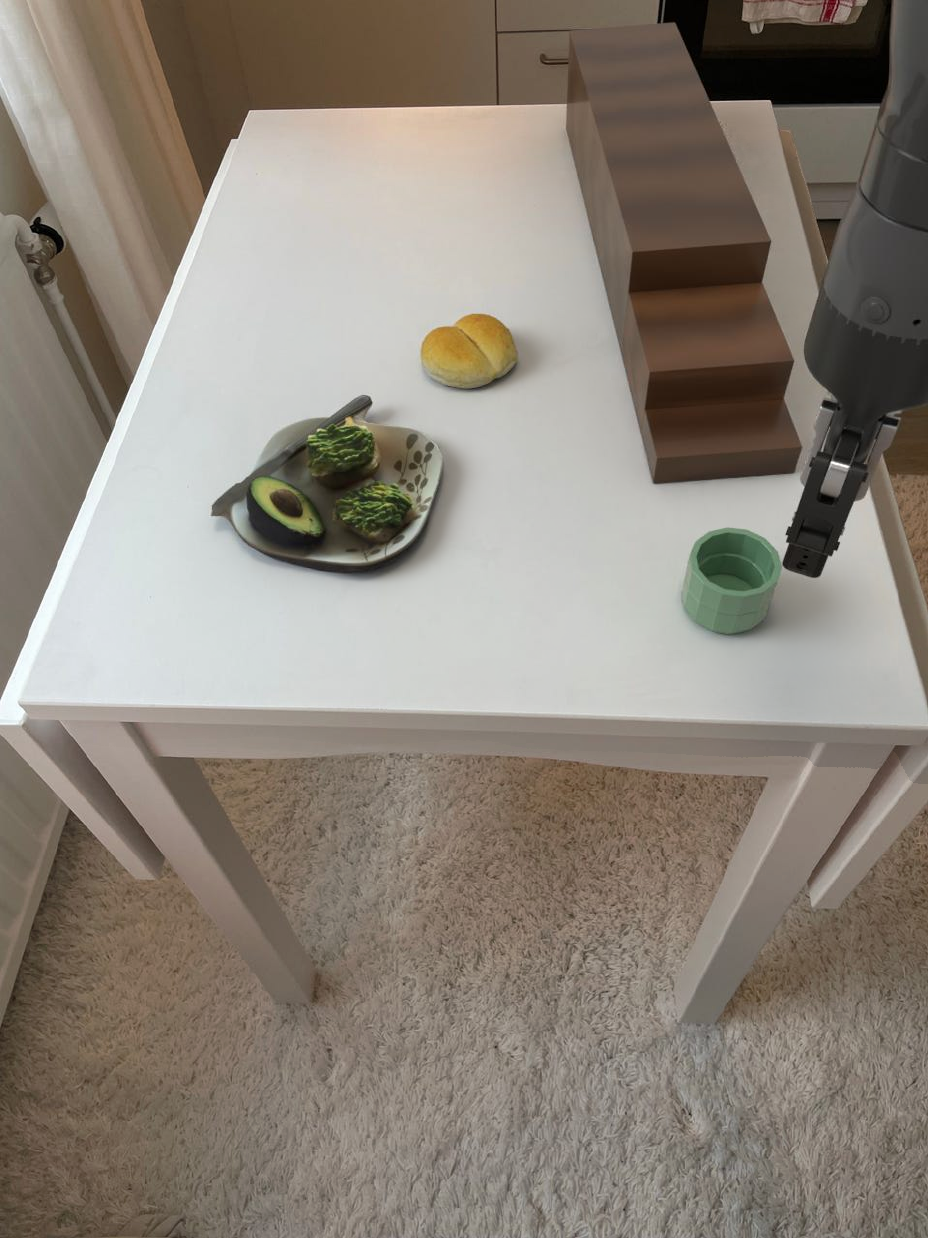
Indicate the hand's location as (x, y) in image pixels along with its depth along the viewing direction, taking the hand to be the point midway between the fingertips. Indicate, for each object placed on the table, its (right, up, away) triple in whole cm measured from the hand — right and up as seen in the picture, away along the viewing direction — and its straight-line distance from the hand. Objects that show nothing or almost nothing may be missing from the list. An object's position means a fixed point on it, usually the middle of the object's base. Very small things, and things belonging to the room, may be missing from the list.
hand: (820, 519), depth 57 cm
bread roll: (-21, +19, +34) cm, 44 cm away
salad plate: (-32, +4, +24) cm, 41 cm away
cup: (-1, -5, +16) cm, 16 cm away
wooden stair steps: (-1, +30, +42) cm, 52 cm away
